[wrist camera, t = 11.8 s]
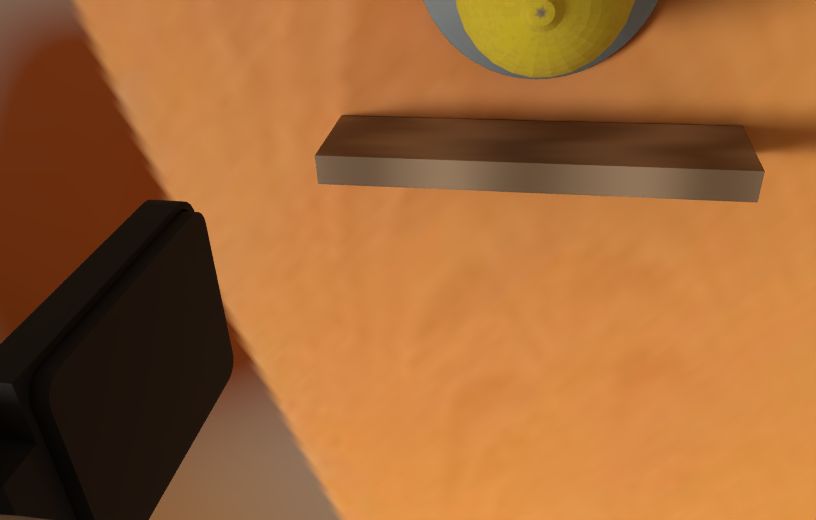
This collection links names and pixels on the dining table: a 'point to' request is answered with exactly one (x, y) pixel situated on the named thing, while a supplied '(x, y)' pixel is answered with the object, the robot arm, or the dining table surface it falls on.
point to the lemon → (543, 32)
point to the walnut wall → (543, 157)
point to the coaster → (449, 23)
